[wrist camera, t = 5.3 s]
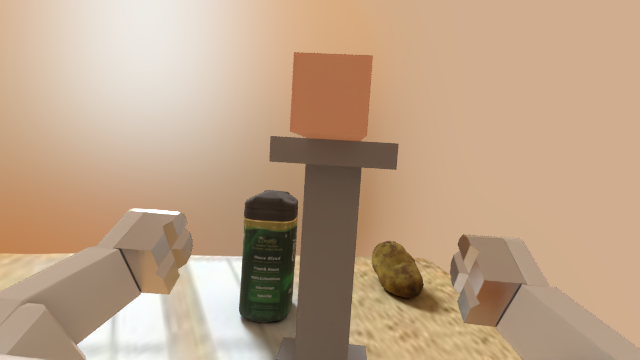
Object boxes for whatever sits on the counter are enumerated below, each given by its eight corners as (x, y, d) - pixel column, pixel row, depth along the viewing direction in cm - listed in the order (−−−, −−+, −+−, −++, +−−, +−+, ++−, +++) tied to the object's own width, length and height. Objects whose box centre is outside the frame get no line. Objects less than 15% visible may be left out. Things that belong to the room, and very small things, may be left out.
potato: (376, 301, 55) (380, 256, 55) (368, 273, 68) (371, 236, 67) (425, 305, 55) (429, 259, 54) (407, 276, 68) (410, 239, 67)
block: (366, 135, 17) (372, 55, 16) (289, 131, 17) (294, 52, 16) (354, 145, 38) (356, 111, 38) (320, 143, 39) (323, 109, 38)
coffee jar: (289, 327, 46) (296, 197, 44) (233, 323, 46) (238, 194, 44) (295, 296, 55) (301, 189, 54) (249, 293, 55) (253, 186, 54)
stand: (372, 453, 27) (398, 143, 25) (256, 438, 28) (270, 136, 25) (364, 361, 39) (380, 146, 37) (282, 352, 40) (294, 141, 37)
